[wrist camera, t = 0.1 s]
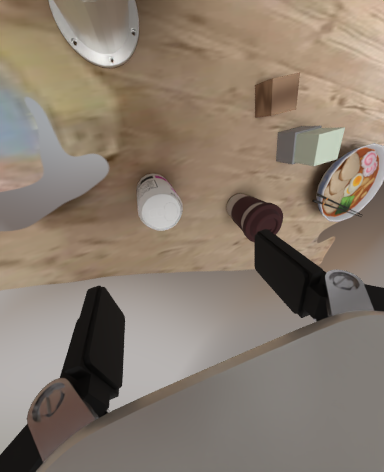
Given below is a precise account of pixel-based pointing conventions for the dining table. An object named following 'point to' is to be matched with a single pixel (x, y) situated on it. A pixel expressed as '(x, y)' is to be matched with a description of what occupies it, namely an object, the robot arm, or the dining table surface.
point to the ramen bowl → (351, 182)
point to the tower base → (289, 143)
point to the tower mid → (318, 146)
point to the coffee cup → (254, 215)
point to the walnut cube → (276, 95)
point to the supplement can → (158, 202)
